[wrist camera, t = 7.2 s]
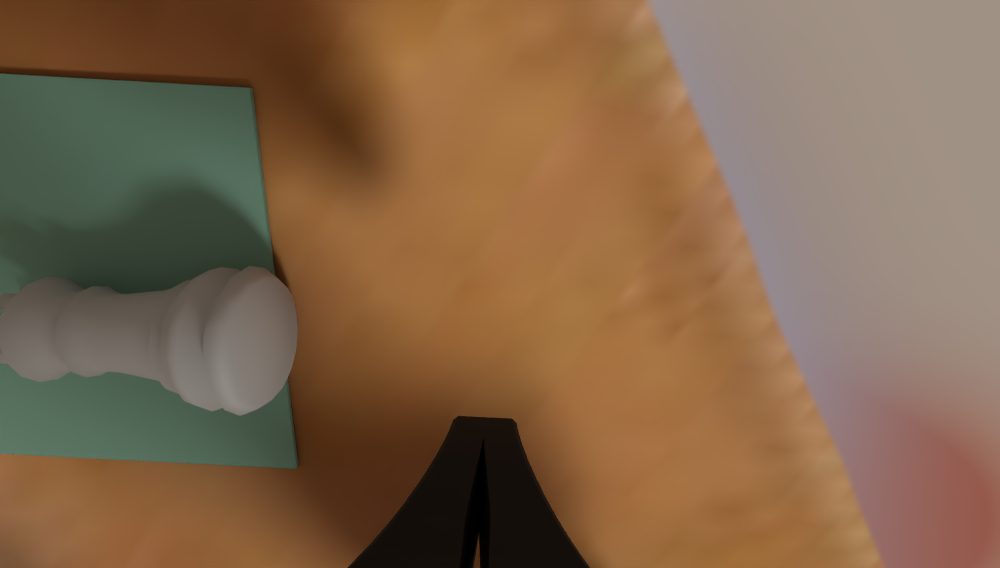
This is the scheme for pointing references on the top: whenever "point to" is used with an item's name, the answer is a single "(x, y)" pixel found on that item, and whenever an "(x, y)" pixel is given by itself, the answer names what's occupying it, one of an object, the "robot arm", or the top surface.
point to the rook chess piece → (160, 335)
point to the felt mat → (131, 252)
